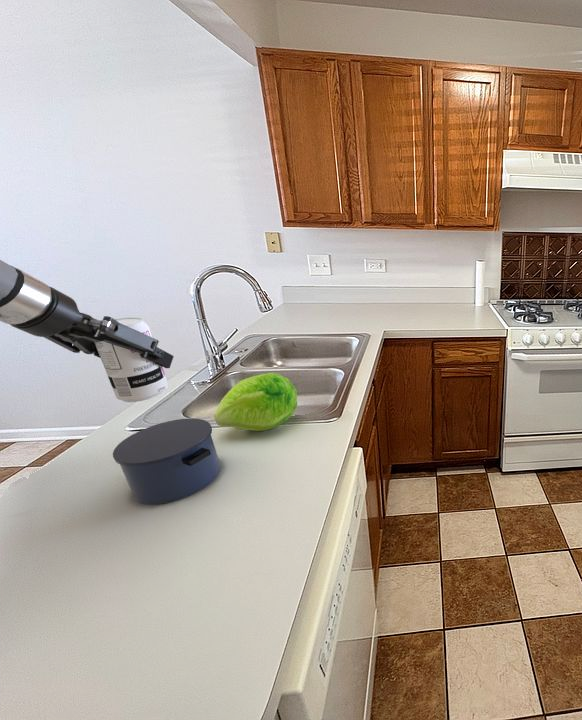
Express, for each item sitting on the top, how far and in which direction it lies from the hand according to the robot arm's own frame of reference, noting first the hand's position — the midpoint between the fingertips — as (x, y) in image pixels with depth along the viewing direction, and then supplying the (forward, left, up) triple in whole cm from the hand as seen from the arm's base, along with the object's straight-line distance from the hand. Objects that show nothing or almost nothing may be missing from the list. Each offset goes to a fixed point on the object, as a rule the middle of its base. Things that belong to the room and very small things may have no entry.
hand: (148, 361), depth 81 cm
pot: (+2, -2, -28) cm, 28 cm away
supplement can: (+3, -2, -6) cm, 7 cm away
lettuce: (-10, +18, -28) cm, 35 cm away
